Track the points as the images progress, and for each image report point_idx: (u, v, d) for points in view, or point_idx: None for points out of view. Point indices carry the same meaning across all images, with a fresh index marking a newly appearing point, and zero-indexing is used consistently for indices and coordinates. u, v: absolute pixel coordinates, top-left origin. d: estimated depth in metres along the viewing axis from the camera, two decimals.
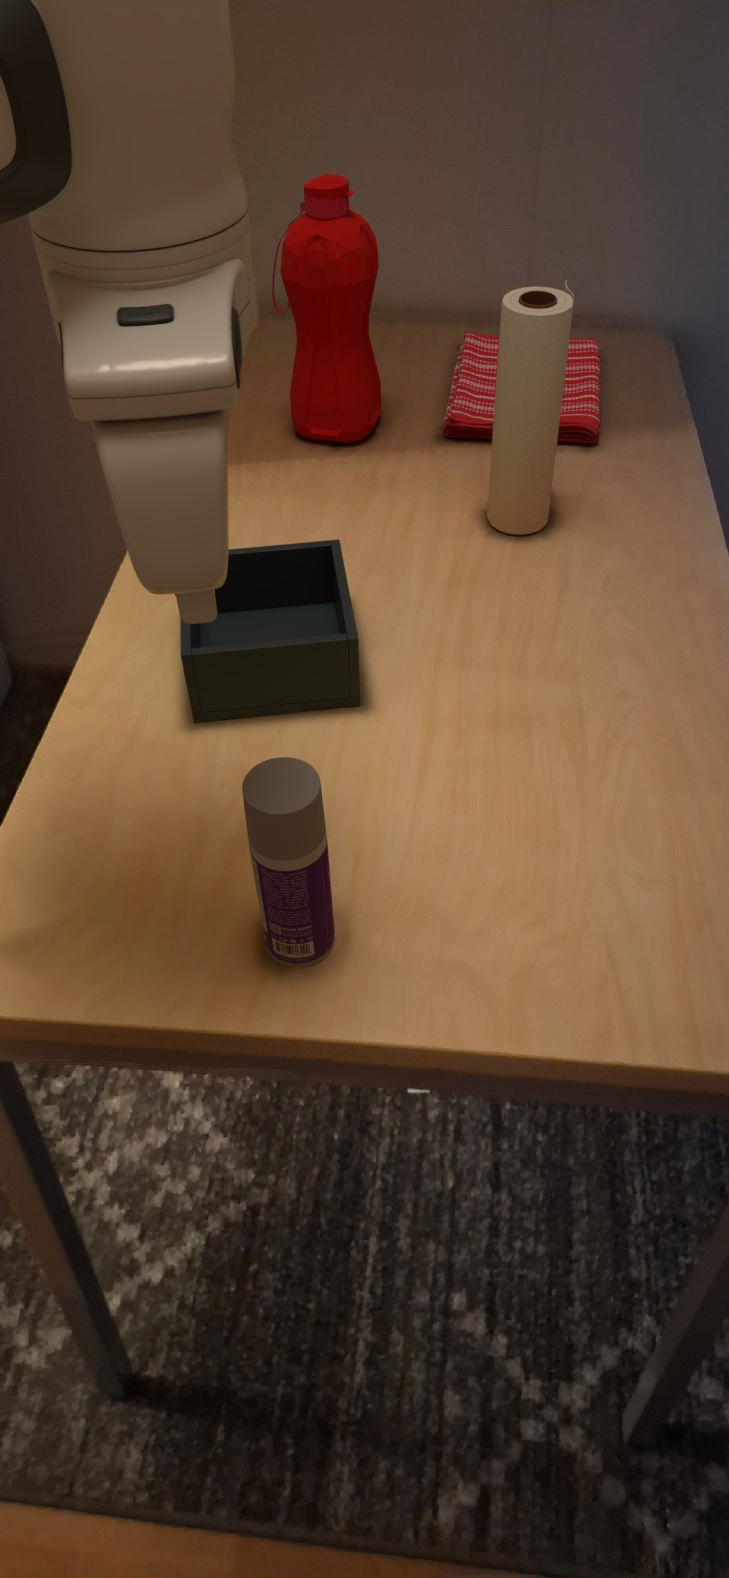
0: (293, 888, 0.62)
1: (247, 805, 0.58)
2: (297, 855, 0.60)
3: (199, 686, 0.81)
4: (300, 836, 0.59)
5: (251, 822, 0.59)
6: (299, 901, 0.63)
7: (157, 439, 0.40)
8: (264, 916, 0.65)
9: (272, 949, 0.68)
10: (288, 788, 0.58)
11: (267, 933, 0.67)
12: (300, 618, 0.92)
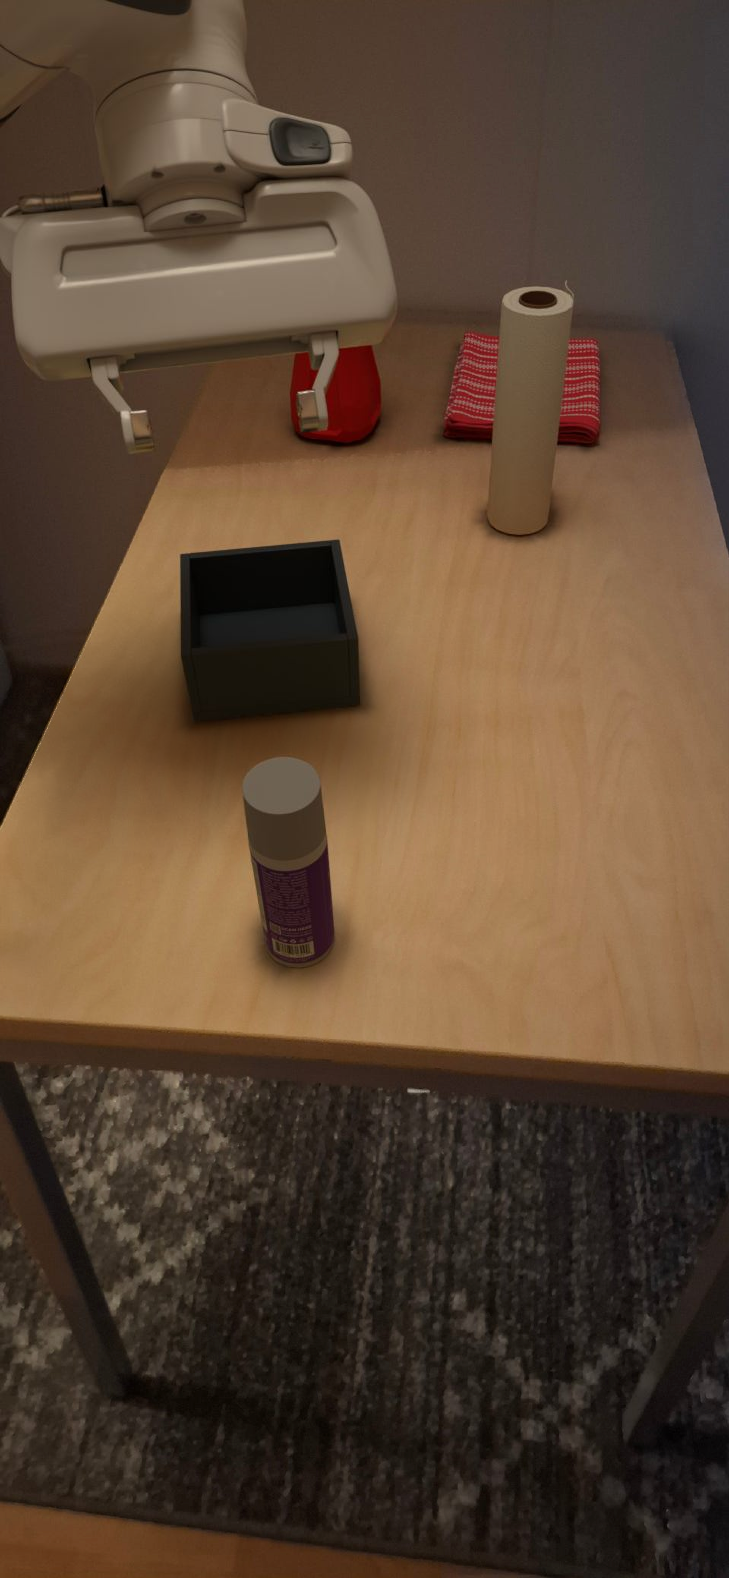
0: (293, 888, 0.62)
1: (247, 805, 0.58)
2: (296, 855, 0.60)
3: (199, 686, 0.81)
4: (300, 836, 0.59)
5: (251, 822, 0.59)
6: (299, 901, 0.63)
7: None
8: (264, 916, 0.65)
9: (272, 949, 0.68)
10: (288, 788, 0.58)
11: (267, 933, 0.67)
12: (300, 618, 0.92)
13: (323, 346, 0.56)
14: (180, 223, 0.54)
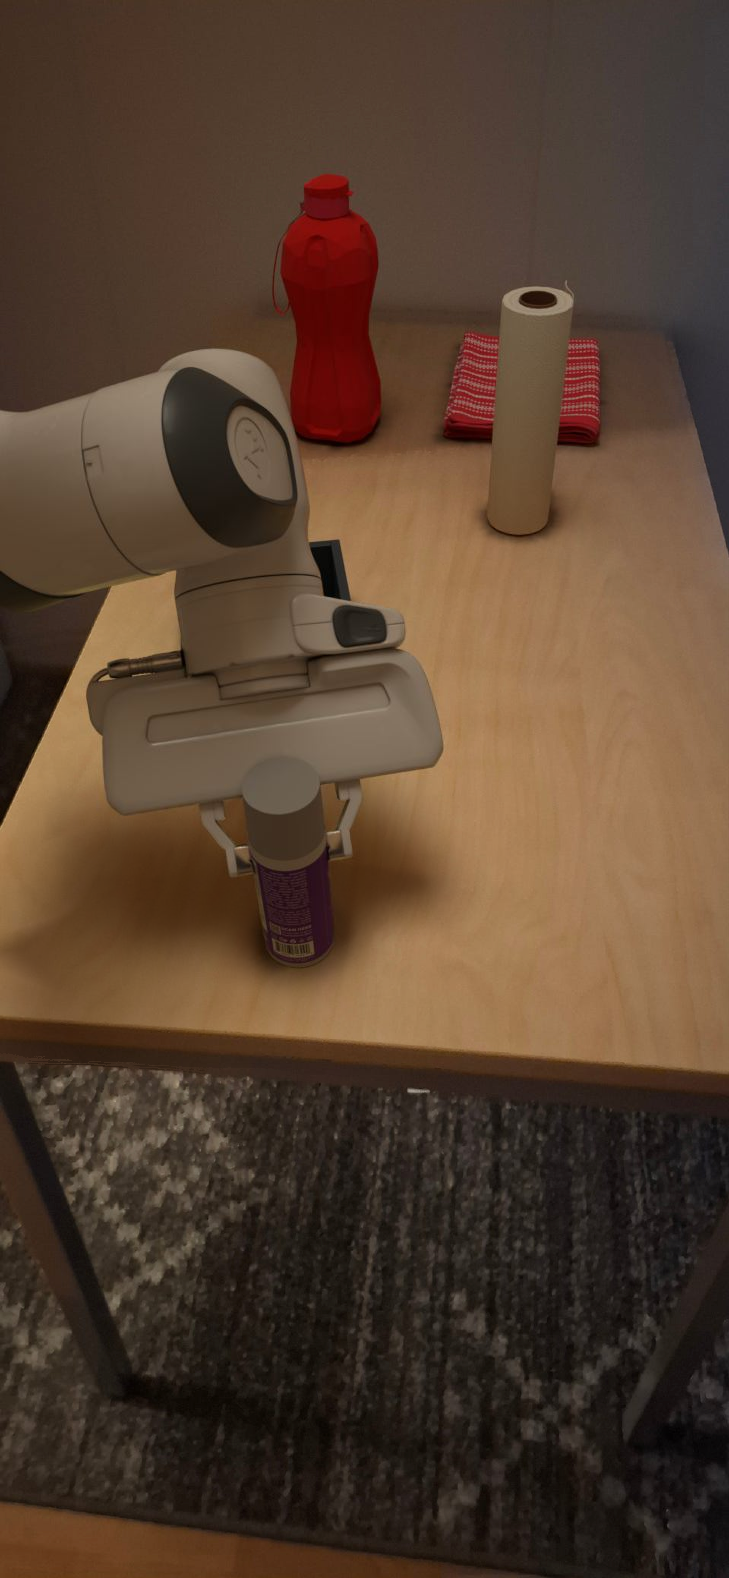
0: (293, 888, 0.62)
1: (246, 805, 0.58)
2: (296, 855, 0.60)
3: None
4: (299, 836, 0.59)
5: (250, 822, 0.59)
6: (299, 900, 0.63)
7: None
8: (264, 916, 0.65)
9: (272, 949, 0.68)
10: (288, 788, 0.58)
11: (267, 933, 0.67)
12: None
13: (348, 792, 0.62)
14: (252, 694, 0.60)
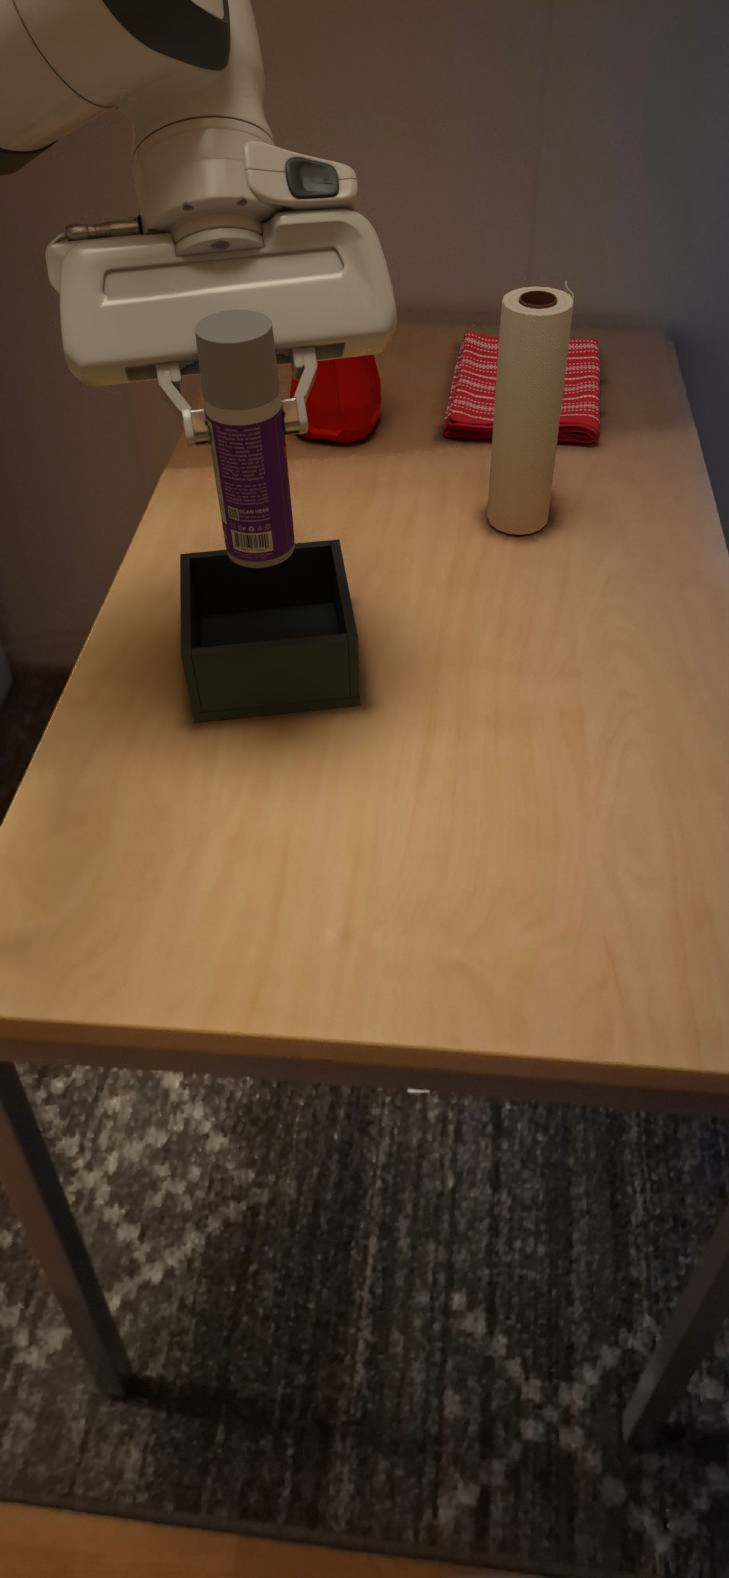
0: (248, 451, 0.63)
1: (199, 342, 0.59)
2: (250, 404, 0.61)
3: (199, 686, 0.81)
4: (252, 378, 0.60)
5: (204, 365, 0.60)
6: (255, 470, 0.64)
7: None
8: (222, 502, 0.66)
9: (232, 547, 0.69)
10: (240, 327, 0.59)
11: (226, 526, 0.68)
12: (300, 618, 0.92)
13: (303, 359, 0.63)
14: (207, 249, 0.61)
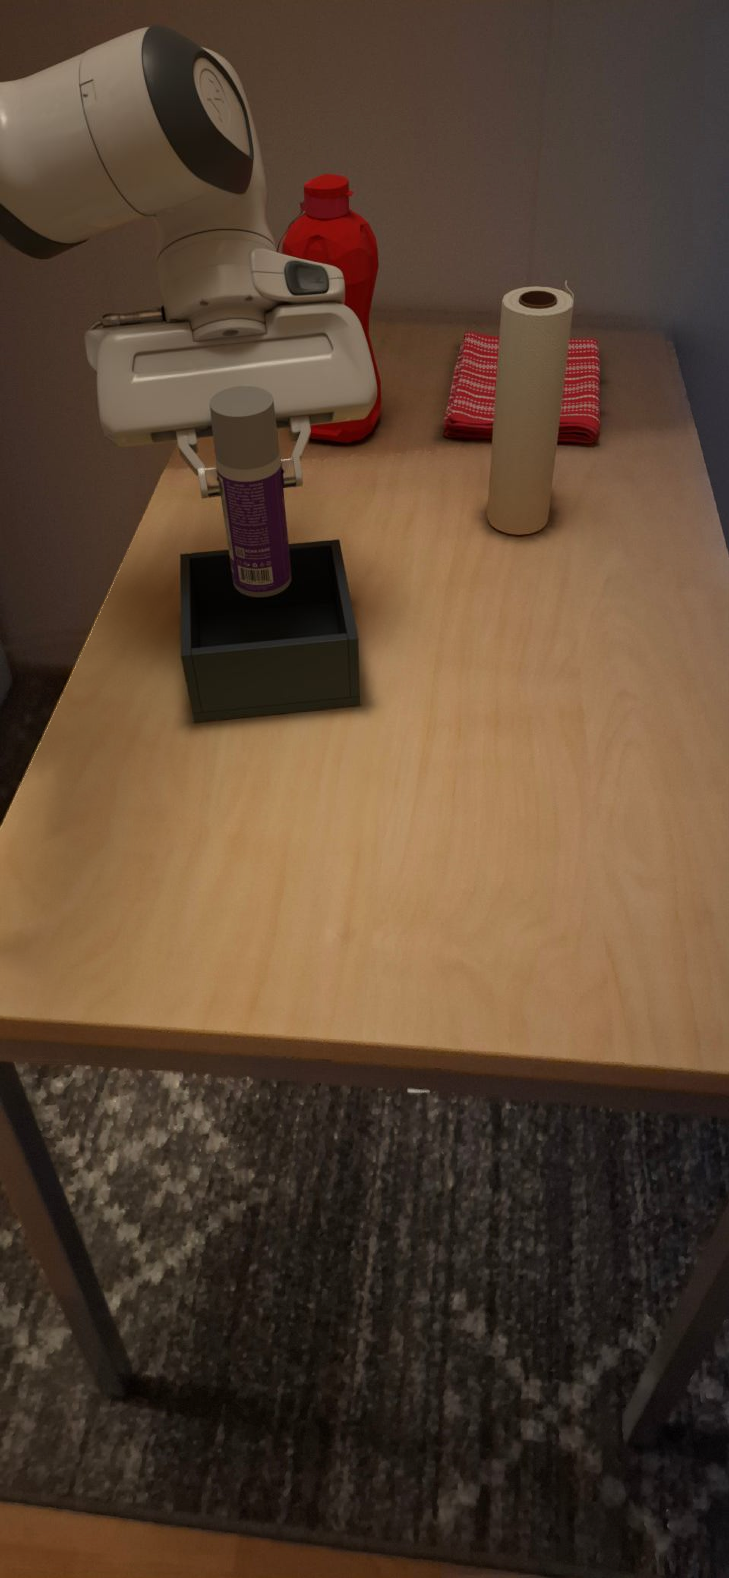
0: (253, 502, 0.75)
1: (213, 414, 0.72)
2: (254, 465, 0.73)
3: (199, 686, 0.81)
4: (256, 444, 0.72)
5: (217, 432, 0.72)
6: (259, 517, 0.76)
7: None
8: (231, 542, 0.79)
9: (238, 580, 0.81)
10: (247, 402, 0.72)
11: (234, 562, 0.80)
12: (300, 618, 0.92)
13: (299, 426, 0.76)
14: (219, 336, 0.74)
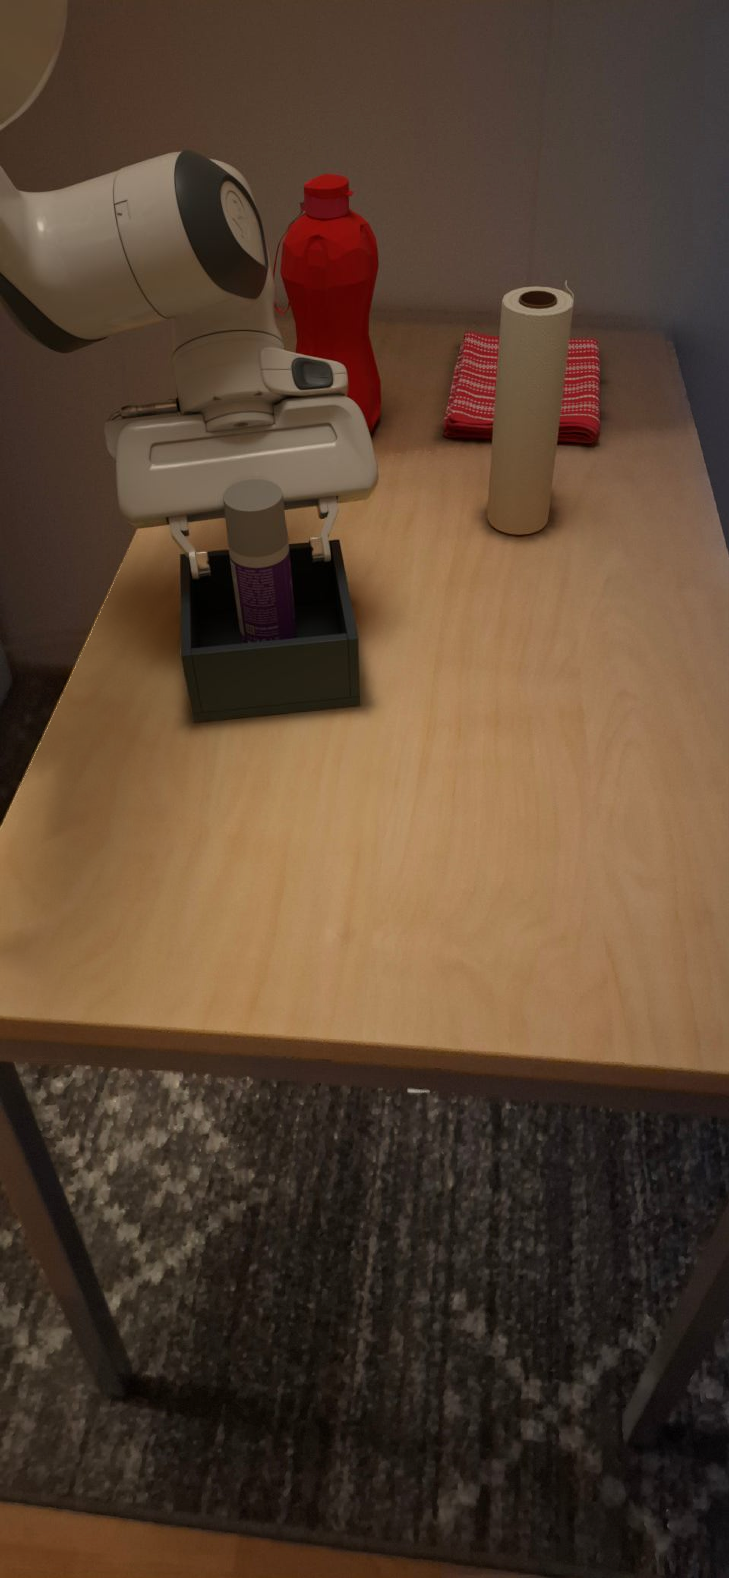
0: (263, 585, 0.81)
1: (227, 508, 0.77)
2: (265, 553, 0.79)
3: (199, 686, 0.81)
4: (267, 534, 0.78)
5: (230, 524, 0.78)
6: (268, 599, 0.82)
7: None
8: (241, 620, 0.84)
9: None
10: (258, 496, 0.77)
11: (244, 637, 0.86)
12: (300, 618, 0.92)
13: (327, 506, 0.81)
14: (231, 427, 0.79)
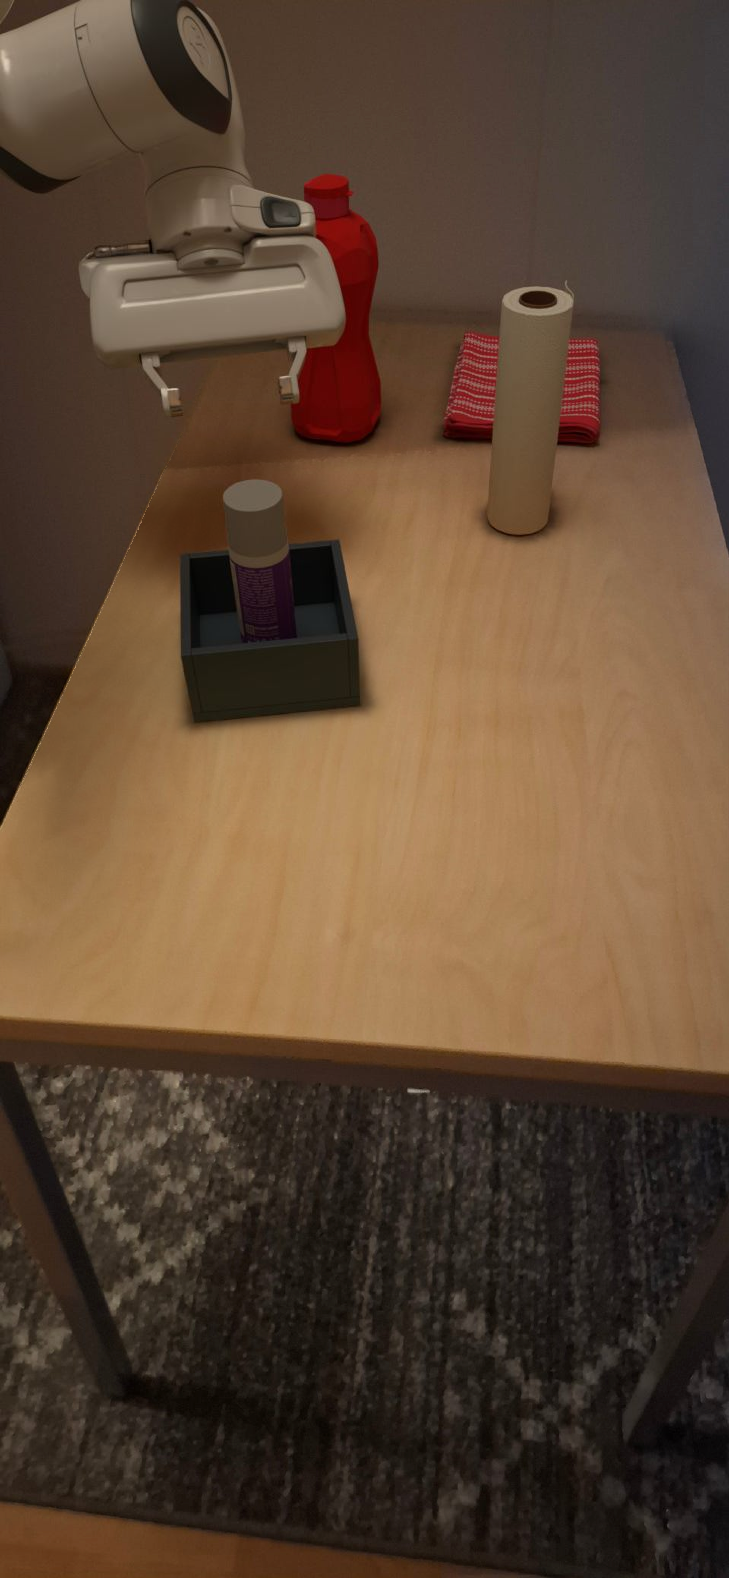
0: (263, 585, 0.81)
1: (226, 508, 0.77)
2: (264, 553, 0.79)
3: (199, 686, 0.81)
4: (266, 534, 0.78)
5: (230, 524, 0.78)
6: (268, 599, 0.82)
7: None
8: (241, 620, 0.84)
9: None
10: (258, 497, 0.77)
11: (244, 638, 0.86)
12: (300, 618, 0.92)
13: (296, 346, 0.83)
14: (201, 265, 0.81)
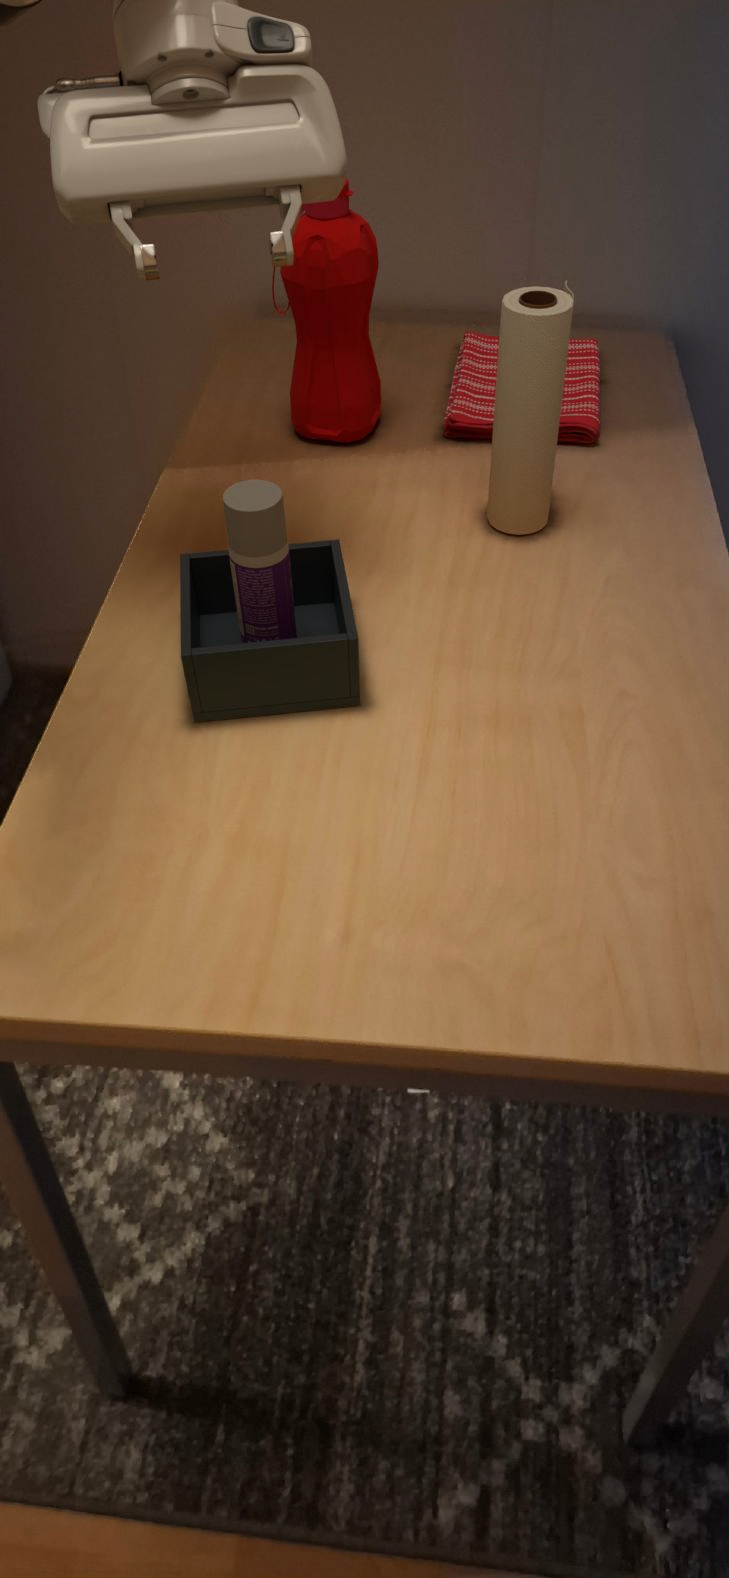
0: (263, 585, 0.81)
1: (226, 508, 0.77)
2: (264, 553, 0.79)
3: (199, 686, 0.81)
4: (266, 534, 0.78)
5: (230, 524, 0.78)
6: (268, 599, 0.82)
7: None
8: (241, 620, 0.84)
9: None
10: (258, 497, 0.77)
11: (244, 638, 0.86)
12: (300, 618, 0.92)
13: (289, 197, 0.72)
14: (179, 98, 0.70)
